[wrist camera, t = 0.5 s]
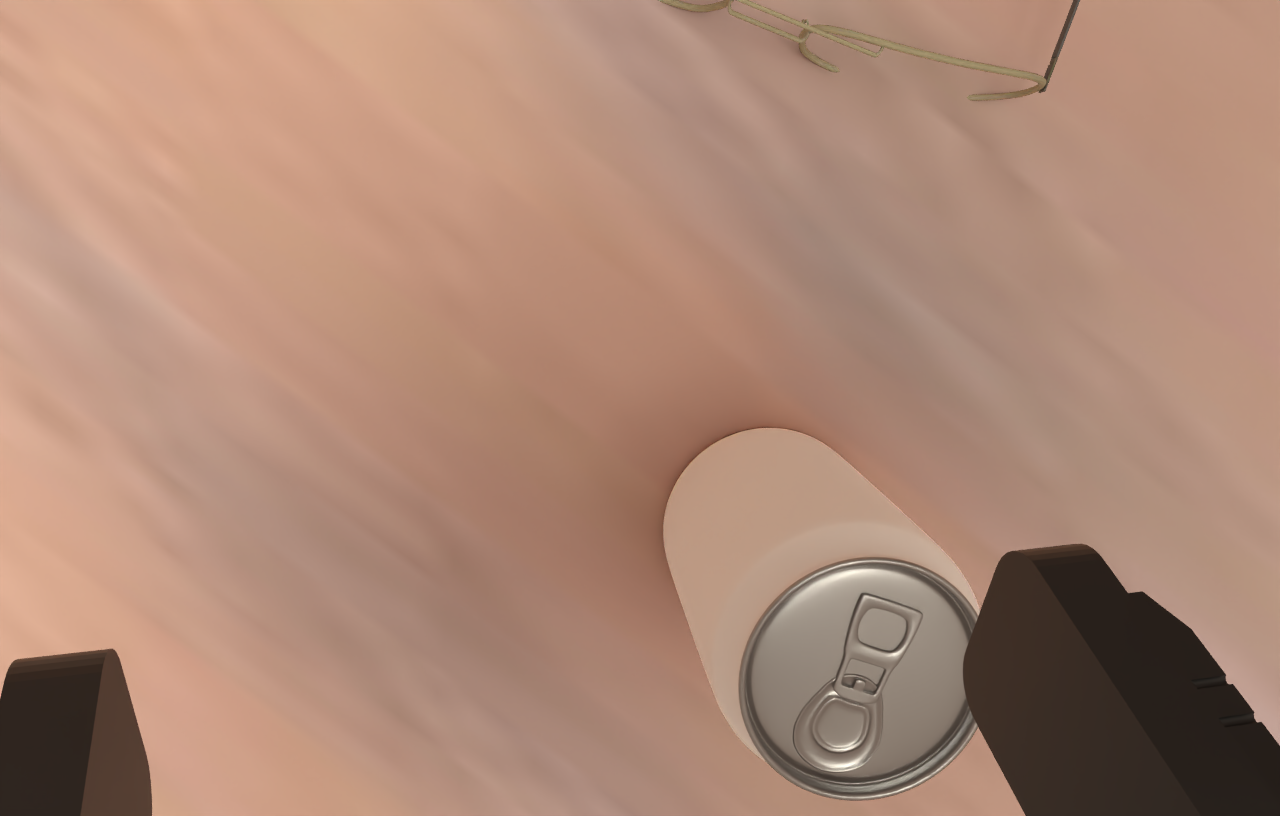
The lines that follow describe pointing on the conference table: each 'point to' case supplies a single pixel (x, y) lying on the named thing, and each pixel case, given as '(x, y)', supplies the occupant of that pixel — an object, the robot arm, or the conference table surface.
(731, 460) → the can
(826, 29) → the eyeglasses
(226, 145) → the conference table surface
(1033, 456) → the conference table surface
